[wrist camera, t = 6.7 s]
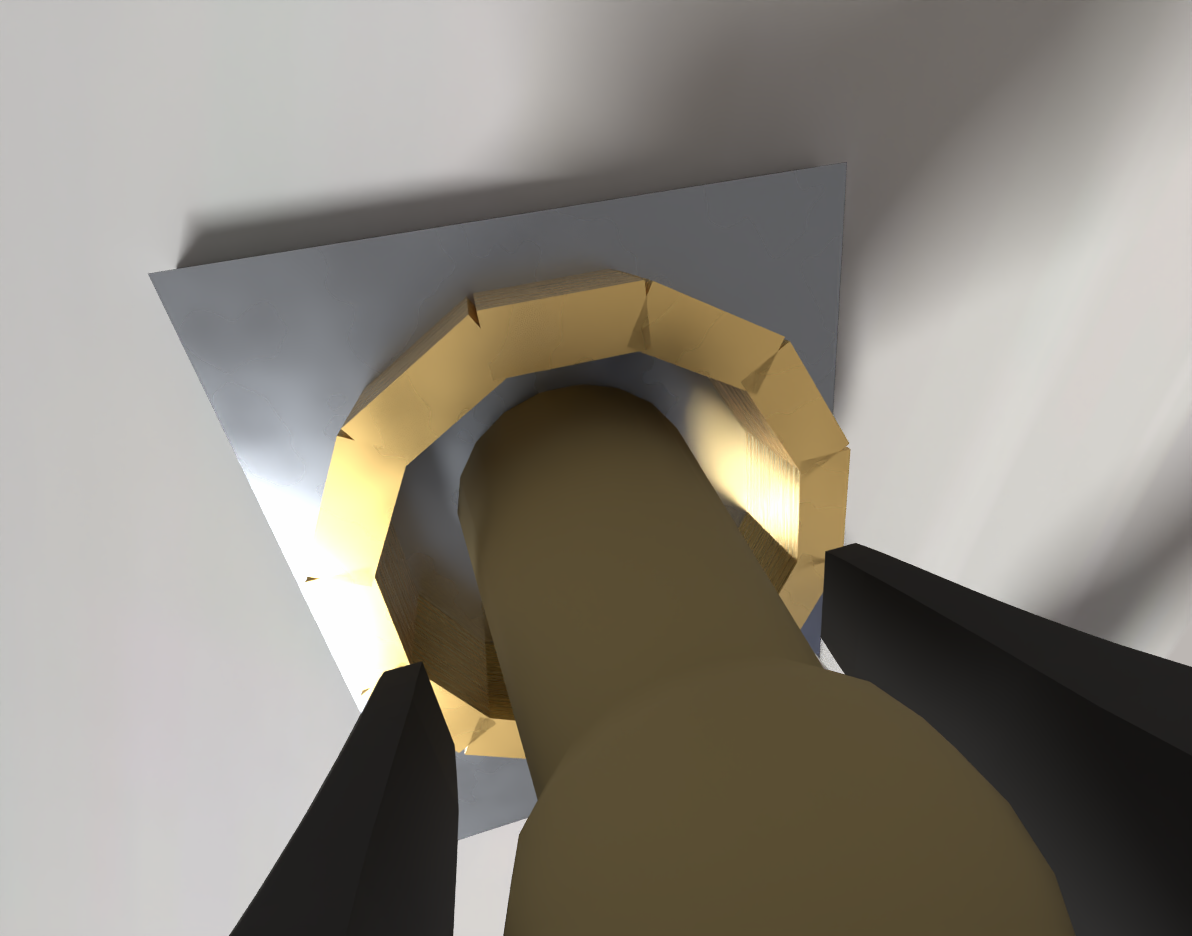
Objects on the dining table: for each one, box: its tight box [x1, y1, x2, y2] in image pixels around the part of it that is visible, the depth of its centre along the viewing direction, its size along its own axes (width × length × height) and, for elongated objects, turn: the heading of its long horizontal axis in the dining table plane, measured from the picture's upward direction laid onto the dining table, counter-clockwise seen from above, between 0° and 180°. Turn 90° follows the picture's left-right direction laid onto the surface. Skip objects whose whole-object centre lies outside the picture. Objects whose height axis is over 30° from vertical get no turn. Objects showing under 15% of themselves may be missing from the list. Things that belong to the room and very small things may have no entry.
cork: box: [457, 384, 1076, 936], centre depth 9 cm, size 6×6×11 cm
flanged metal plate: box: [148, 162, 850, 840], centre depth 14 cm, size 18×14×4 cm
